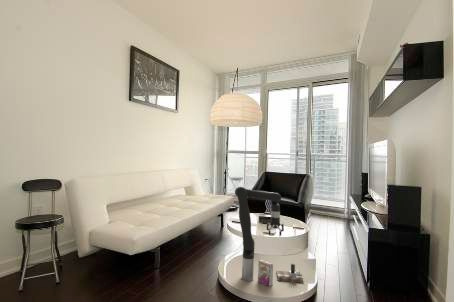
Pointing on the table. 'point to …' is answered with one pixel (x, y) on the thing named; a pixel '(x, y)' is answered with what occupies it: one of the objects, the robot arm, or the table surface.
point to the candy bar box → (265, 273)
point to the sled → (292, 271)
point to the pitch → (286, 277)
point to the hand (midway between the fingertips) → (274, 235)
